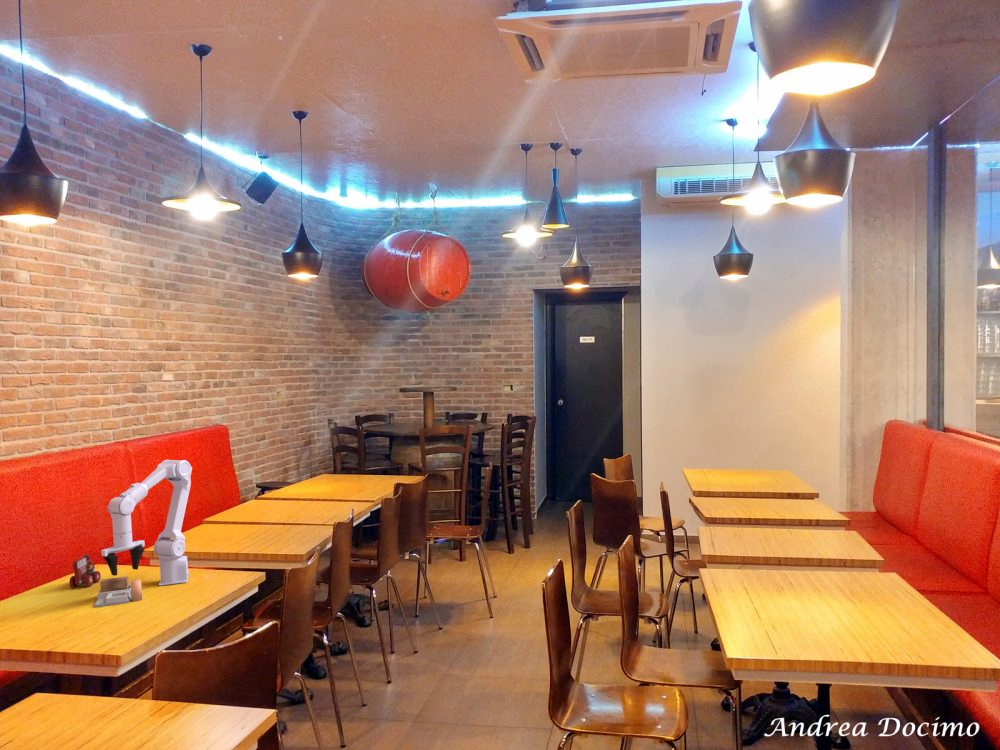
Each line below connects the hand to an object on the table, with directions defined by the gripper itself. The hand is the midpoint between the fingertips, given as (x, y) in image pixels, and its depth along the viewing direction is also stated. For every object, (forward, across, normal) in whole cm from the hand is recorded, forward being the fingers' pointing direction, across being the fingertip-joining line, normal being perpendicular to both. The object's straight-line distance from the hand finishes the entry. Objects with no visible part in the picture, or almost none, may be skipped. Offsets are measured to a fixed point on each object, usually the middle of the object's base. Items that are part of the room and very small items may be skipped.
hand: (124, 572), depth 266 cm
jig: (+9, +2, -3) cm, 10 cm away
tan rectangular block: (+8, +1, -6) cm, 10 cm away
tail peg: (+9, 0, +5) cm, 10 cm away
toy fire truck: (+9, -4, -30) cm, 32 cm away
